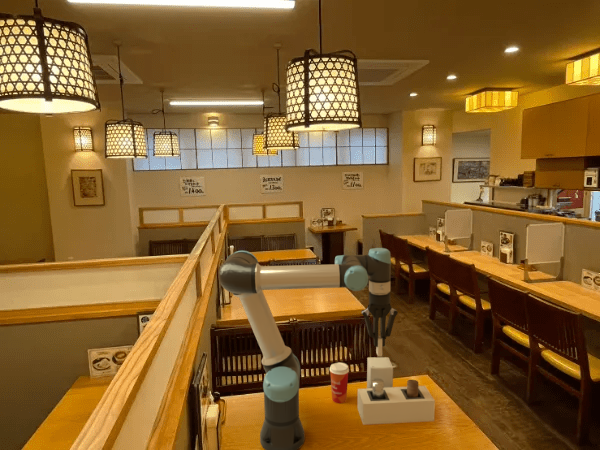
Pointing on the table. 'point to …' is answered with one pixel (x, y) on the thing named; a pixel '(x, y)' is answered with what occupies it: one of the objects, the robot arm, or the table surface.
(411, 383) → the walnut peg
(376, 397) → the metal peg
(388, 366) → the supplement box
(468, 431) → the table surface
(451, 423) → the table surface
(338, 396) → the paper cup
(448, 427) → the table surface
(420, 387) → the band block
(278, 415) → the robot arm
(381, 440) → the table surface
